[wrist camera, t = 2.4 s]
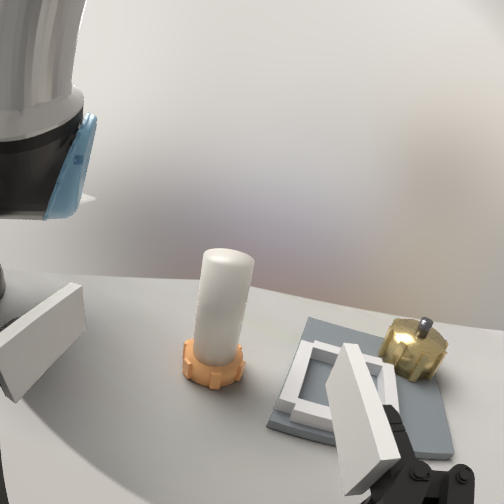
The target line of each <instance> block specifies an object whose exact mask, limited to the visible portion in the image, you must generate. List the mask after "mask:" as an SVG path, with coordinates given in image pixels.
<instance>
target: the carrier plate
mask: <svg viewBox="0 0 504 504" xmlns="http://www.w3.org/2000/svg"><path fill="white" fill-rule="evenodd" d="M383 340H384V338H382V337H378V336H374V335H370V334H367V333H363V332H359V331H356V330H352V329H349V328H345V327H342V326H338V325H335V324H331V323H328V322H324V321H321V320H318V319H314V318H311V317H308V320H307V323H306V326H305V329H304V332H303V334H302V337H301V340H300V343H299V346H298V348H297V351H296V354H295V356H294V359H293V362H292V364H291V367H290V370H289V372H288V375H287V377H286V380H285V383H284V385H283V388H282V390H281V393H280V395H279V397H278V400H277V402H276V405H275V407H274V409H273V412H272V414H271V417H270V419H269V421H268V424H267V426H266V427H269V428H272V429H275V430H278V431H281V432H285V433H288V434H291V435H295V436H298V437H302V438H305V439H309V440H313V441H317V442H321V443H325V444H329V445H333V446H336V441H335V435H334V429H333V423H332V418H331V412H330V407H329V401H328V396H327V391H326V386H325V384H326V382H327V380H328V378H329V375H330V373H331V371H332V369H333V366H334V364H335V362H336V359H337V357H338V355H339V352H340V350H341V347H342V345H343V343H351V344H358V346H359V348H360V350H361V353H362V355H363V358H364V360H365V362H366V365H367V367H368V370H369V372H370V375H371V377H372V380H373V382H374V385H375V387H376V390H377V392H378V395H379V398H380V400H381V403H382V405H392V406H393V407H394V408H395V409H396V410H397V411H398V413H399V414H400V417H401V419H402V422H403V423H402V424H404V427H405V429H406V430H405V432H407V434H408V437H409V440H410V442H411V445H412V447H413V450H414V453H415V456H416V458H420V459H440V460H448V459H449V458H450V457H451V456H452V455H453V454H454V449H453V444H452V439H451V434H450V430H449V425H448V421H447V417H446V413H445V409H444V405H443V401H442V398H441V394H440V391H439V387H438V384H437V380H436V377H435V374H434V376H433V378H431V379H430V380H427V379H425V380H422V381H416V382H411V381H408V379H405V378H403V377H401V376H399V375H397V374H395V371H394V365H392V364H388V363H384V362H383V361H382V358H381V357H380V356H378V350H379V348H380V346H381V344H382V342H383Z"/></svg>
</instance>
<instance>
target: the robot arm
mask: <svg viewBox="0 0 504 504" xmlns="http://www.w3.org/2000/svg"><path fill="white" fill-rule="evenodd" d="M86 1H87V0H0V219H29V220H31V219H32V220H43V221H46V220H47V219H58V218H68V217H69V216H71V215H73V214H74V213H75V212H76V210H77V208H78V206H79V203H80V199H81V195H82V191H83V186H84V181H85V177H86V172H87V167H88V163H89V158H90V153H91V149H92V145H93V140H94V135H95V131H96V125H97V124H96V122H97V117H96V116H94V115H92V114H90V113H89V112H87V113H85V114H83V103H84V96H83V94H82V92H81V91H80V90H79V89H78V88H77V87H76V86H74V85H73V84H72V82H71V79H72V70H73V63H74V56H75V50H76V45H77V39H78V34H79V29H80V25H81V21H82V16H83V12H84V8H85V5H86ZM4 290H5V280H4V275H3V270H2V266H1V264H0V298H1V296H2V295H3V293H4ZM86 330H87V327H86V319H85V311H84V302H83V290H82V285H79V284H76V283H73V282H71V283H69V284H68V285H66V286H65V287H63V288H62V289H60V290H59V291H57V292H56V293H54V294H53V295H51V296H50V297H48V298H47V299H46V300H44V301H43V302H41V303H40V304H38V305H37V306H35V307H34V308H33V309H31V310H30V311H28V312H27V313H26V314H24V315H23V316H22V317H18V318H16V319H13V320H11V321H9V322H8V323H7V324H5V325H4V327H1V328H0V386H1V388H2V390H3V392H4V394H5V396H7V397H8V398H9V399H10V400H12V401H13V402H14V403H17V402H18V401H19V400H20V399H21V398H22V396H23V395H24V394H25V393H26V392H27V391H28V390H29V389H30V388H31V387H32V385H33V384H34V383H35V382H36V381H37V380H38V379H39V378H40V377H41V376H42V375H43V374H44V373H45V372H46V371H47V369H48V368H49V367H50V366H51V365H52V364H53V363H54V362H55V361H56V360H57V359H58V358H59V357H60V356H61V355H62V354H63V353H64V352H65V351H66V350H67V349H68V348H69V347H70V346H71V345H72V344H73V343H74V342H75V341H76V340H77V339H78V338H79V337H80V336H81V335H82V334H83V333H84V332H85V331H86ZM325 386H326V391H327V396H328V401H329V407H330V412H331V418H332V423H333V429H334V435H335V441H336V447H337V453H338V459H339V466H340V472H341V479H342V486H343V493H344V496H350V495H360V494H363V493H364V492H366V491H367V490H368V489H369V488H370V490H371V496H369V497H368V498H367V499H366V500H364V501H363V502H362V503H361V504H474V488H475V477H474V473H473V471H472V469H471V468H469V467H468V466H467V465H464V464H457V465H455V466H453V467H452V468H451V469H450V470H449V471H448V472H447V471H434V470H431V468H430V467H429V465H428V464H426V463H425V462H423V461H420V460H417V458H416V456H415V453H414V450H413V447H412V445H411V442H410V440H409V437H408V434H407V432H405V430H406V429H405V427H404V424H402V423H403V422H402V419H401V417H400V414H399V413H398V411H397V410H396V409H395V408H394V407H393V406H392V405H382V403H381V400H380V398H379V395H378V392H377V390H376V387H375V385H374V382H373V380H372V377H371V375H370V372H369V370H368V367H367V365H366V362H365V360H364V358H363V355H362V353H361V350H360V348H359V346H358V344H351V343H343V345H342V347H341V350H340V352H339V355H338V357H337V359H336V362H335V364H334V366H333V369H332V371H331V373H330V375H329V378H328V380H327V382H326V384H325ZM0 504H9V502H8V498H7V493H6V488H5V482H4V477H3V470H2V461H1V451H0Z"/></svg>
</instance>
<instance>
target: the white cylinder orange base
mask: <svg viewBox="0 0 504 504" xmlns="http://www.w3.org/2000/svg"><path fill="white" fill-rule="evenodd" d="M254 263H255V262H254V259H253V258H252V257H250V256H249V255H247V254H245V253H242V252H239V251H236V250H231V249H219V248H216V249H210V250H207V251H205V252H204V256H203V263H202V270H201V279H200V286H199V295H198V303H197V312H196V322H195V331H194V339H192V340H190V339H188V340H187V341H186V342H185V343H184V349H183V358H184V360H183V374H184V375H185V377H186V378H187V379H190V378H191V379H192V380H193V381H195V382H196V383H198V384H201V385H204V386H208V387H209V389H220V387H223V386H227V385H229V384H231V383H233V382H234V381H235V380H236V381H239V380H240V379H241V377H242V375H243V371H244V366H245V361H242V359H243V354H242V351H241V349H242V347H241V346H240V345H239V344H238V341H239V336H240V332H241V327H242V322H243V317H244V312H245V307H246V302H247V297H248V292H249V288H250V283H251V278H252V272H253V268H254Z"/></svg>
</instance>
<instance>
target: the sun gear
mask: <svg viewBox="0 0 504 504" xmlns="http://www.w3.org/2000/svg"><path fill="white" fill-rule="evenodd" d="M432 325H433V321H432V320H431V319H429V318H426V317H422V319H421V321H420V322H418V321H417V320H413V319H399V318H397V319H394V321H393V323H392V326H390V327H389V329H388V331H387V333H386V336H385V338H384V340H383V342H382V344H381V346H380V348H379V350H378V356H380V357H381V358H382V361H383V362H384V363H388V364H392V365H394V371H395V374H397V375H399V376H401V377H403V378H405V379H408V381H411V382H416V381H422V380H425V379H427V380H430V379H431V378H433V376H434V374H435V373H436V371H437V369H438V368H439V366H440V364H441V363H442V361H443V359H444V357H445V356H446V354H447V352H446V351H445V350H446V348H447V346H448V343H447V340H444V338H443V337H442V336H441V335H440V334H439V333H438V332H437V330H435V329H434V328H432Z"/></svg>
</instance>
